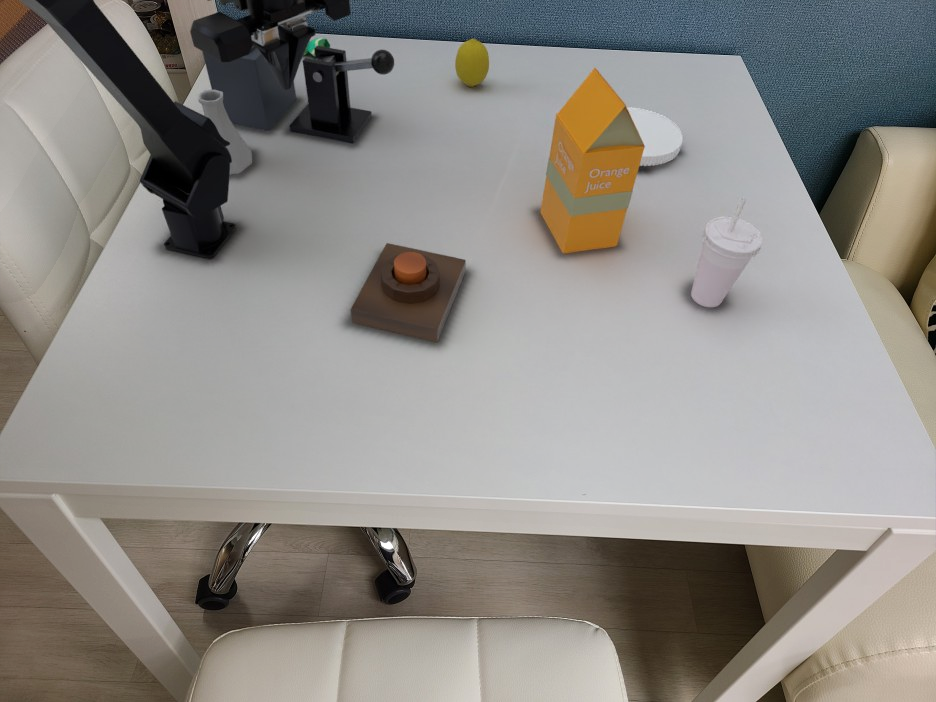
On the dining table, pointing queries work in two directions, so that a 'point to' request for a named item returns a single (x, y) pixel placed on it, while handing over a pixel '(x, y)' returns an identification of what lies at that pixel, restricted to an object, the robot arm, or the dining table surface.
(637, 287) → the dining table surface
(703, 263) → the smoothie
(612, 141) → the orange juice
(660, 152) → the plastic lid
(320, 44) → the candy
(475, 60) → the lemon
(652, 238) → the dining table surface
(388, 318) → the control block
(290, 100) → the toaster
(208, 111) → the flask
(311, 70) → the lever bracket
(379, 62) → the black lever
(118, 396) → the dining table surface
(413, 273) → the button
